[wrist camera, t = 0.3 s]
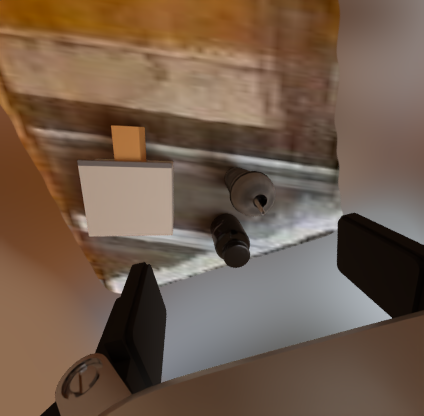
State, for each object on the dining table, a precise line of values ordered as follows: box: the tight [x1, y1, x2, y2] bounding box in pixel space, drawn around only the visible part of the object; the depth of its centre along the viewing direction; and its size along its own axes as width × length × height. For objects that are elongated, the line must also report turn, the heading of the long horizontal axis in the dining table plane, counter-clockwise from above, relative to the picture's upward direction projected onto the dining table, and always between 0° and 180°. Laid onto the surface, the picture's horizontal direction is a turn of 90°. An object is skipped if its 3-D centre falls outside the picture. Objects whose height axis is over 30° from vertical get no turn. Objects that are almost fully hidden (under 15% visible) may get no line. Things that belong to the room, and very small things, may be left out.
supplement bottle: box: [211, 214, 250, 268], centre depth 44 cm, size 7×7×12 cm
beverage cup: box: [225, 168, 275, 216], centre depth 36 cm, size 7×7×20 cm
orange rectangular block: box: [111, 125, 146, 162], centre depth 38 cm, size 4×12×6 cm, turn 177°
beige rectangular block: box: [77, 159, 174, 236], centre depth 40 cm, size 14×13×8 cm
